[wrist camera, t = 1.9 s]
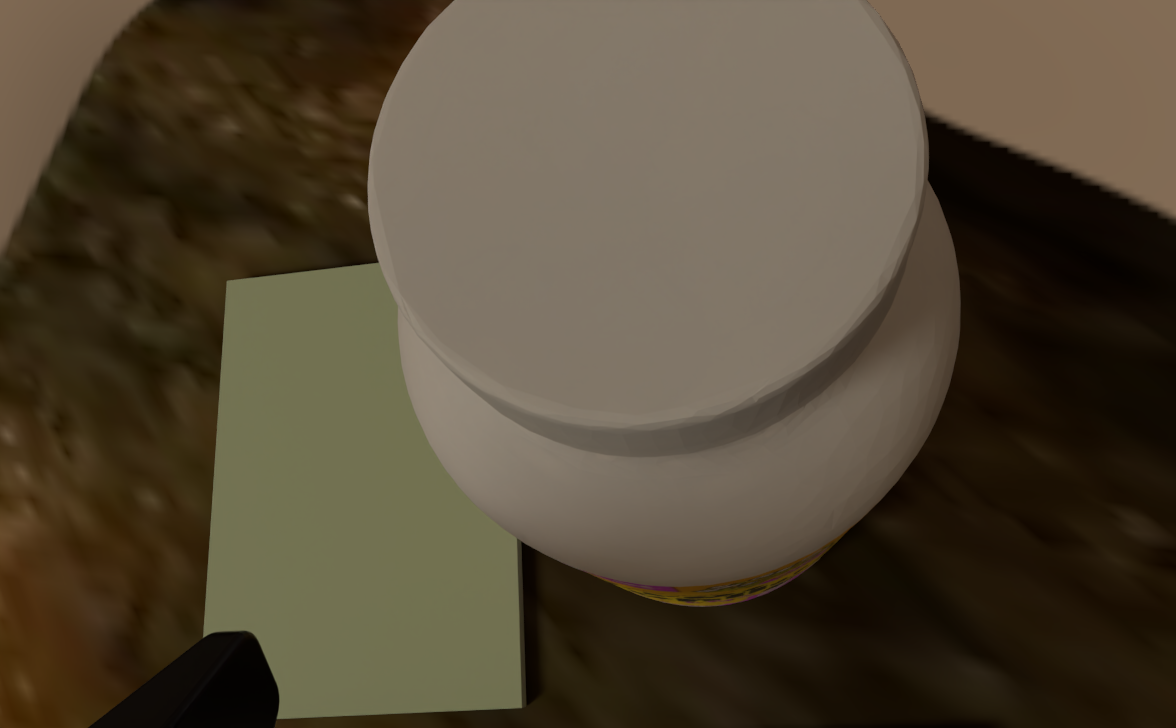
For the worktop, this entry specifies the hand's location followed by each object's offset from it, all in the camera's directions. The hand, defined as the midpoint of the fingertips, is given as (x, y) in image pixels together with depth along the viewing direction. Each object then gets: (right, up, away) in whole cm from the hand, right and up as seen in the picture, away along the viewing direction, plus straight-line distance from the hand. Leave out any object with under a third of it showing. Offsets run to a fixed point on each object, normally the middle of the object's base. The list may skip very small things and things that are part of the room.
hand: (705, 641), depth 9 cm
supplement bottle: (+1, +1, +11) cm, 11 cm away
